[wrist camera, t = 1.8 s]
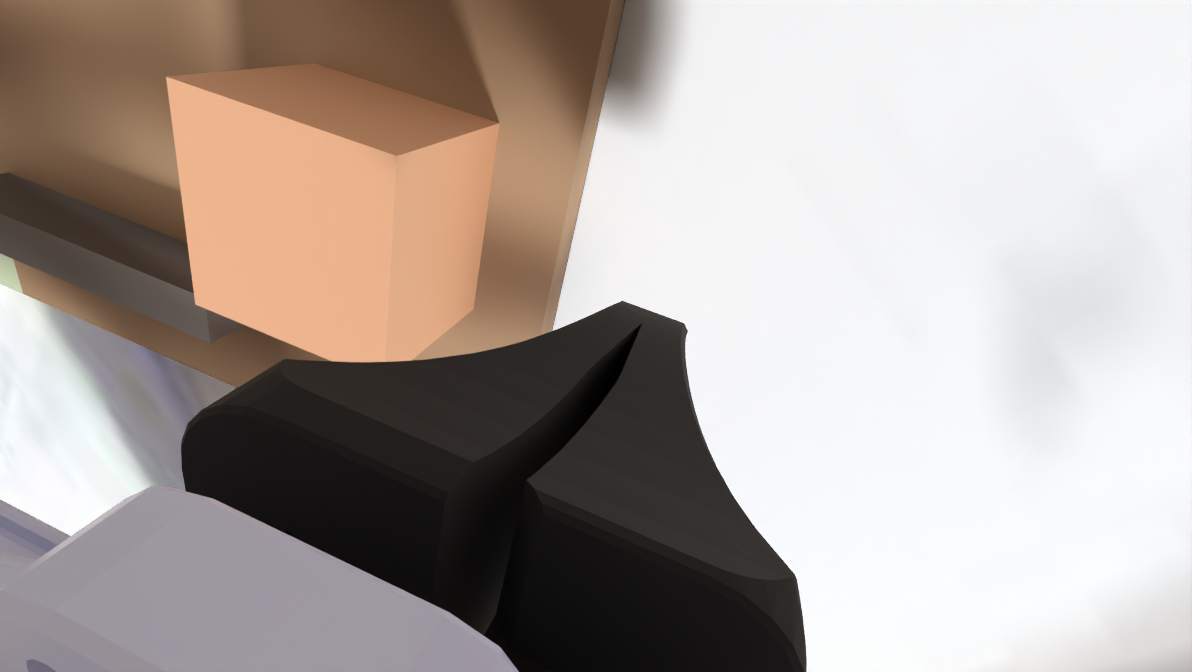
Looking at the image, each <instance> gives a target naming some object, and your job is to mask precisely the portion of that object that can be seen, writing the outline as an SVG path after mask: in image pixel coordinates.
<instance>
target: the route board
mask: <svg viewBox="0 0 1192 672" xmlns="http://www.w3.org/2000/svg"><path fill="white" fill-rule="evenodd" d="M624 3H625V0H0V284H2V285H4V286H7V287H9V288H11V289H13V290H16V291H18V292H20V293H23V294H25V295H27V296H29V297H32V298H34V299H36V300H39V301H41V302H43V303H45V304H48V305H50V306H52V307H55V308H57V309H59V310H61V311H64V312H66V313H68V314H71V315H73V316H75V317H77V318H80V319H82V320H84V321H87V322H89V323H91V324H93V325H96V326H98V327H100V328H103V329H105V330H107V331H109V332H112V333H114V334H116V335H119V336H121V337H123V338H125V339H128V340H130V341H132V342H135V343H137V344H139V345H141V346H144V347H146V348H148V349H151V350H153V351H155V352H157V353H160V354H162V355H164V356H167V357H169V358H171V359H173V360H176V361H178V362H180V363H183V364H185V365H187V366H189V367H192V368H194V369H196V370H199V371H201V372H203V373H205V374H208V375H210V376H212V377H215V378H217V379H219V380H221V381H224V382H226V383H228V384H231V385H233V386H235V387H237V388H238V387H240V386H241V385H243V384H244V383H246V382H248V381H249V380H251V379H252V378H254V377H256V376H257V375H259V374H260V373H262V372H264V371H265V370H267V369H268V368H270V367H272V366H273V365H275V364H277V363H278V362H280V361H282V360H283V359H295V360H314V361H330V360H328V359H325V358H323V357H320V356H318V355H316V354H313V353H311V352H308V351H306V350H304V349H301V348H299V347H296V346H294V345H292V344H289V343H287V342H284V341H282V340H279V339H277V338H275V337H272V336H270V335H267V334H265V333H263V332H260V331H258V330H255V329H253V328H251V327H248V326H246V325H243V324H241V323H239V322H236V321H234V320H231V319H229V318H227V317H224V316H222V315H219V314H217V313H215V312H212V311H210V310H207V309H205V308H203V307H200V306H198V305H195V298H194V290H193V283H192V275H191V267H190V259H189V252H188V244H187V236H186V228H185V220H184V213H183V205H182V197H181V189H180V182H179V174H178V166H177V158H176V150H175V143H174V135H173V127H172V119H171V112H170V104H169V96H168V88H167V81H166V77H168V76H179V75H190V74H201V73H213V72H224V71H235V70H247V69H258V68H269V67H280V66H292V65H303V64H314V63H315V64H318V65H321V66H324V67H327V68H330V69H334V70H337V71H340V72H343V73H346V74H349V75H352V76H355V77H358V78H361V79H364V80H368V81H371V82H374V83H377V84H380V85H383V86H386V87H389V88H392V89H395V90H398V91H402V92H405V93H408V94H411V95H414V96H417V97H420V98H423V99H426V100H429V101H432V102H436V103H439V104H442V105H445V106H448V107H451V108H454V109H457V110H460V111H463V112H467V113H470V114H473V115H476V116H479V117H482V118H485V119H488V120H491V121H494V122H497V123H499V130H498V138H497V145H496V152H495V159H494V166H493V173H492V180H491V188H490V195H489V202H488V209H487V216H486V223H485V230H484V238H483V245H482V252H481V259H480V266H479V273H478V280H477V288H476V295H475V302H474V309H473V310H472V311H471V312H470V313H468V314H467V315H466V316H465V317H463V318H462V319H461V320H460V321H459V322H457V323H456V324H455V325H454V326H453V327H451V328H450V329H449V330H448V331H446V332H445V333H444V334H443V335H442V336H440V337H439V338H438V339H437V340H436V341H434V342H433V343H432V344H431V345H429V346H428V347H427V348H426V349H425V350H423V351H422V352H421V353H420V354H418V355H417V356H416V357H415V358H414V359H412V360H425V359H433V358H441V357H448V356H456V355H463V354H471V353H476V352H481V351H486V350H490V349H495V348H499V347H504V346H508V345H511V344H515V343H519V342H522V341H526V340H528V339H531V338H534V337H537V336H540V335H543V334H546V333H548V332H551V331H552V329H553V325H554V320H555V316H556V311H557V306H558V302H559V297H560V293H561V288H562V284H563V279H564V275H565V270H566V266H567V261H568V257H569V252H570V248H571V243H572V238H573V234H574V229H575V225H576V220H577V216H578V211H579V207H580V202H581V198H582V193H583V189H584V184H585V180H586V175H587V171H588V166H589V161H590V157H591V152H592V148H593V143H594V139H595V134H596V130H597V125H598V121H599V116H600V112H601V107H602V103H603V98H604V93H605V89H606V84H607V80H608V75H609V71H610V66H611V62H612V57H613V53H614V48H615V44H616V39H617V35H618V30H619V26H620V21H621V16H622V12H623V7H624Z"/></svg>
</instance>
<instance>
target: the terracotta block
mask: <svg viewBox="0 0 1192 672" xmlns="http://www.w3.org/2000/svg"><path fill="white" fill-rule="evenodd" d="M166 81H167V88H168V96H169V104H170V112H171V119H172V127H173V135H174V143H175V150H176V158H177V166H178V174H179V182H180V189H181V197H182V205H183V213H184V220H185V228H186V236H187V244H188V252H189V259H190V267H191V275H192V283H193V290H194V298H195V305H198V306H200V307H203V308H205V309H207V310H210V311H212V312H215V313H217V314H219V315H222V316H224V317H227V318H229V319H231V320H234V321H236V322H239V323H241V324H243V325H246V326H248V327H251V328H253V329H255V330H258V331H260V332H263V333H265V334H267V335H270V336H272V337H275V338H277V339H279V340H282V341H284V342H287V343H289V344H292V345H294V346H296V347H299V348H301V349H304V350H306V351H308V352H311V353H313V354H316V355H318V356H320V357H323V358H325V359H328V360H330V361H337V362H395V361H411V360H412V359H414V358H415V357H416V356H417V355H418V354H420V353H421V352H422V351H423V350H425V349H426V348H427V347H428V346H429V345H431V344H432V343H433V342H434V341H436V340H437V339H438V338H439V337H440V336H442V335H443V334H444V333H445V332H446V331H448V330H449V329H450V328H451V327H453V326H454V325H455V324H456V323H457V322H459V321H460V320H461V319H462V318H463V317H465V316H466V315H467V314H468V313H470V312H471V311H472V310H473V309H474V302H475V295H476V288H477V280H478V273H479V266H480V259H481V252H482V245H483V238H484V230H485V223H486V216H487V209H488V202H489V195H490V188H491V180H492V173H493V166H494V159H495V152H496V145H497V138H498V130H499V123H497V122H494V121H491V120H488V119H485V118H482V117H479V116H476V115H473V114H470V113H467V112H463V111H460V110H457V109H454V108H451V107H448V106H445V105H442V104H439V103H436V102H432V101H429V100H426V99H423V98H420V97H417V96H414V95H411V94H408V93H405V92H402V91H398V90H395V89H392V88H389V87H386V86H383V85H380V84H377V83H374V82H371V81H368V80H364V79H361V78H358V77H355V76H352V75H349V74H346V73H343V72H340V71H337V70H334V69H330V68H327V67H324V66H321V65H318V64H315V63H314V64H303V65H292V66H280V67H269V68H258V69H247V70H235V71H224V72H213V73H201V74H190V75H179V76H168V77H166Z"/></svg>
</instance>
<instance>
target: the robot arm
mask: <svg viewBox="0 0 1192 672" xmlns="http://www.w3.org/2000/svg"><path fill="white" fill-rule="evenodd" d="M687 332H688V331H687V329H686V326H685V324H684V323H681V322H679V321H676V320H673V319H670V318H668V317H665V316H662V315H659V314H657V313H654V312H651V311H649V310H646V309H643V308H640V307H638V306H635V305H632V304H629V303H627V302H624V301H621V302H619V303H616V304H614V305H612V306H610V307H607V308H605V309H603V310H601V311H599V312H597V313H594V314H592V315H590V316H588V317H586V318H583V319H581V320H579V321H577V322H574V323H572V324H569V325H567V326H565V327H562V328H560V329H557V330H554V331H551V332H548V333H546V334H543V335H540V336H537V337H534V338H531V339H528V340H526V341H522V342H519V343H515V344H511V345H508V346H504V347H499V348H495V349H490V350H486V351H481V352H476V353H471V354H463V355H456V356H448V357H441V358H433V359H425V360H411V361H395V362H337V361H314V360H295V359H283V360H282V361H280V362H278V363H277V364H275V365H273V366H272V367H270V368H268V369H267V370H265V371H264V372H262V373H260V374H259V375H257V376H256V377H254V378H252V379H251V380H249V381H248V382H246V383H244V384H243V385H241V386H240V387H238V388H237V389H235V390H233V391H232V392H230V393H229V394H227V395H225V396H224V397H222V398H221V399H219V400H217V401H216V402H214V403H213V404H211V405H209V406H208V407H206V408H205V409H203V410H201V411H200V412H199V413H198V414H197V415H196V416H195V417H194V418H193V419H192V420H191V421H190V422H189V423H188V425H187V427H186V430H185V433H184V436H183V439H182V444H181V455H182V472H183V477H184V483H185V489H186V491H182V490H178V489H175V488H171V487H162V486H151V487H149V488H147V489H145V490H143V491H141V492H139V493H137V494H135V495H132V496H130V497H128V498H126V499H125V500H123V501H122V502H120V503H119V504H117V505H116V506H114V507H113V508H111V509H110V510H109V511H107V512H106V513H104V514H103V515H101V516H100V517H98V518H97V519H95V520H94V521H93V522H91V523H90V524H88V525H87V526H85V527H84V528H82V529H81V530H79V531H78V532H76V533H75V534H74V535H72V536H69V535H67V534H65V533H63V532H62V531H60V530H58V529H56V528H54V527H52V526H50V525H48V524H46V523H44V522H42V521H40V520H38V519H36V518H35V517H33V516H31V515H29V514H27V513H25V512H23V511H21V510H19V509H17V508H15V507H13V506H11V505H9V504H8V503H6V502H4V501H2V500H0V672H806V644H805V634H804V625H803V616H802V609H801V603H800V596H799V590H798V584H797V579H796V577H795V574H794V573H793V572H792V571H791V570H790V569H789V567H788V566H787V565H786V564H785V563H784V561H783V560H782V559H781V558H780V557H779V556H778V554H777V553H776V552H775V551H774V550H773V548H772V547H771V546H770V545H769V544H768V543H767V541H766V540H765V539H764V538H763V537H762V536H761V534H760V533H759V532H758V531H757V529H756V528H755V527H754V525H753V524H752V523H751V521H750V520H749V518H748V517H747V516H746V514H745V513H744V511H743V510H742V508H741V507H740V506H739V504H738V503H737V501H736V500H735V498H734V497H733V495H732V493H731V492H730V490H729V488H728V486H727V485H726V483H725V481H724V479H723V478H722V476H721V474H720V472H719V470H718V469H717V467H716V465H715V462H714V460H713V458H712V456H711V454H710V452H709V449H708V447H707V444H706V442H705V439H704V437H703V434H702V431H701V428H700V425H699V422H698V419H697V416H696V412H695V409H694V405H693V401H692V397H691V392H690V388H689V382H688V375H687V369H686V359H685V339H686V335H687Z"/></svg>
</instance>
